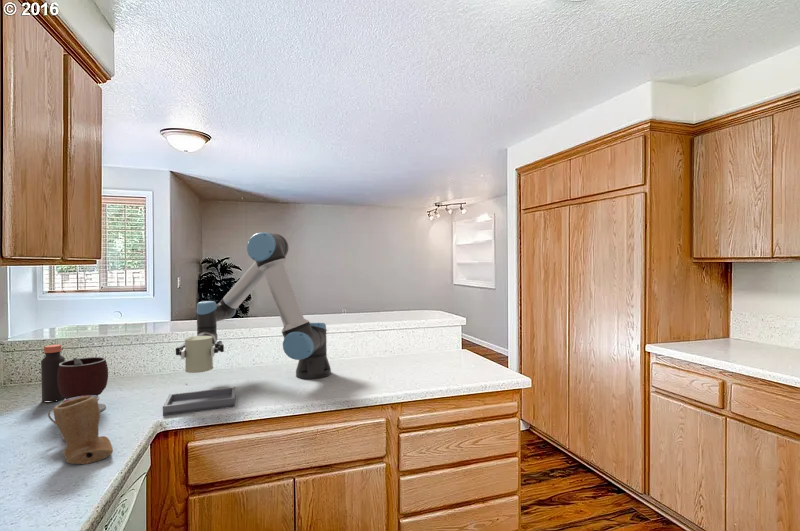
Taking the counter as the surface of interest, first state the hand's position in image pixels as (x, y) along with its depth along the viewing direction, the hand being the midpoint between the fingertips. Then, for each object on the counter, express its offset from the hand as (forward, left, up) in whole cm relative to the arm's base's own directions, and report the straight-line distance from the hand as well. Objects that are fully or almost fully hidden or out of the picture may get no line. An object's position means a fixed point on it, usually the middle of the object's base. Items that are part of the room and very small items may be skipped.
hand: (197, 354), depth 151 cm
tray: (-1, 0, -18) cm, 18 cm away
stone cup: (+24, +33, -18) cm, 45 cm away
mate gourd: (+36, -7, -18) cm, 41 cm away
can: (0, -5, -7) cm, 8 cm away
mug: (+31, +17, -18) cm, 40 cm away
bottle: (+51, -27, -18) cm, 60 cm away
